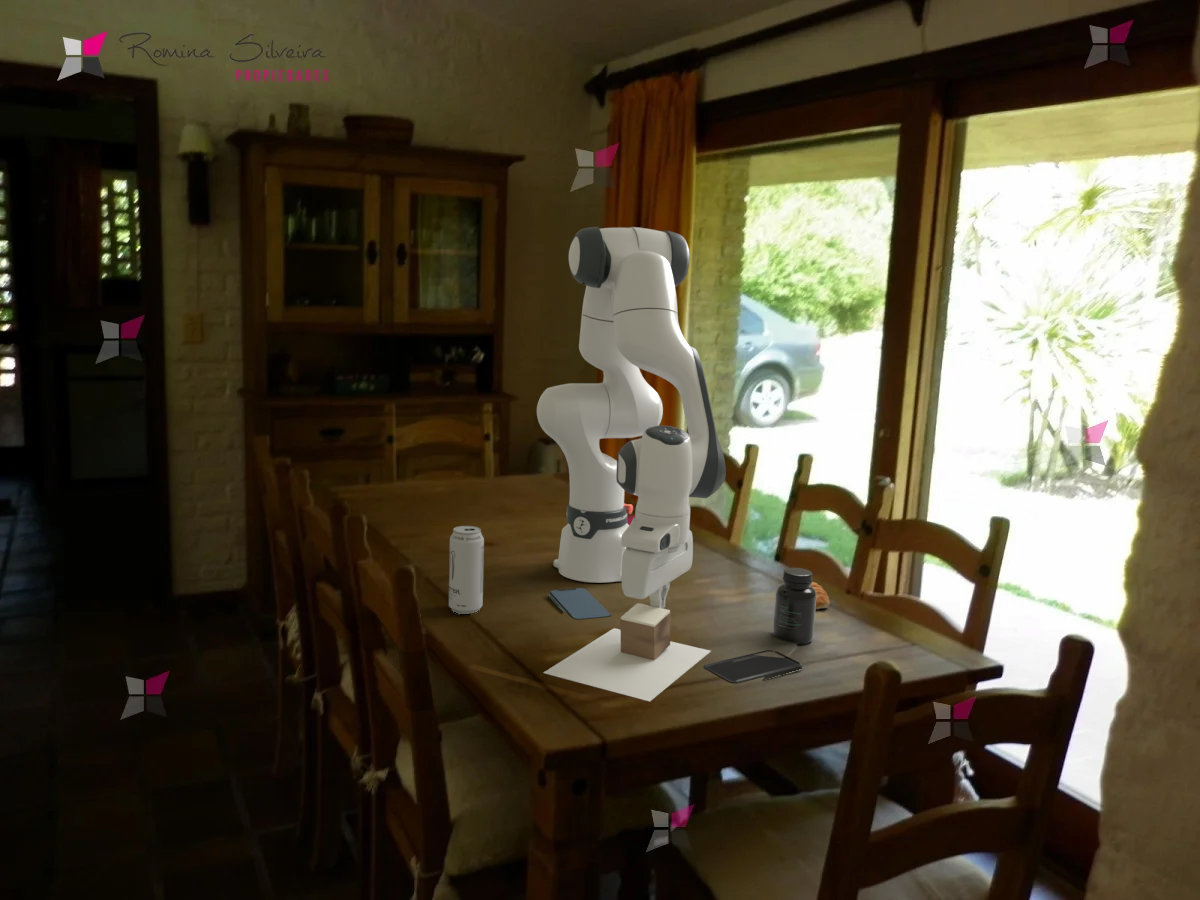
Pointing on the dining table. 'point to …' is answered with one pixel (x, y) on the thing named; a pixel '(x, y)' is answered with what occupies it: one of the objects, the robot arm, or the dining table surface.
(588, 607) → the smartphone
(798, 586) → the supplement bottle
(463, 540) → the energy drink can
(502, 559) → the dining table surface
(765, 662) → the phone
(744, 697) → the dining table surface
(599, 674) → the white mat
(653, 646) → the walnut cube
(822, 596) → the pastry
